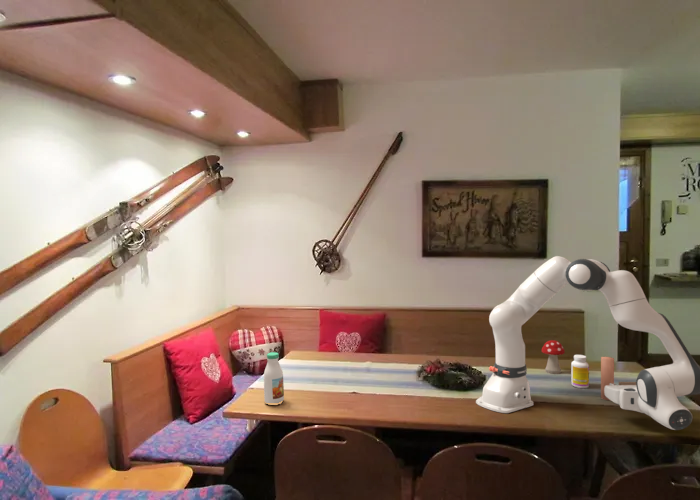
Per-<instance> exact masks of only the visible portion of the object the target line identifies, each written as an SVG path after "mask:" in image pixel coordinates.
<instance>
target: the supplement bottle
mask: <svg viewBox="0 0 700 500" xmlns="http://www.w3.org/2000/svg"><path fill="white" fill-rule="evenodd" d="M586 360H587V356H586V355H583V354H574V355H573V361H571V365H570V368H571V370H570V371H571V372H570V377H571V379H570V380H571V382H570V383H571V385H572V386H573V388H574V387H575V388H578V389H587V388H589V387H590V369H589V368H590V365H589V363H588V362H587V361H586Z"/></svg>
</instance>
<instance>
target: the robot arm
mask: <svg viewBox="0 0 700 500" xmlns="http://www.w3.org/2000/svg"><path fill="white" fill-rule="evenodd" d="M567 285H569V286H571V287H573V288H575V290H576V289H577V290H579V291H588V292H589V291H590V292H591V291H599V292H601V293H602V294H603V296H604V298H605V299H606V302H607V305H608V307H609V310H610V313H611V315H612V318H613V319H614V321H615V322H616V323H617V324H618V325H620V326H621V327H623V328H625V329H629V330H632V331H638V332H643V333H648V334H652V335H654V336H656V337H657V338H658V339H659V340H660V341H661V343H662V345H663V347H664V349H666V351H667V353H668V355H669V356H670V358H671V359H672V363H670V364H665V365H661V366H654V367H650V368H645V369H641V370H640V371H639V373H638V374H637V378H636V381H635V382H636V385H619V384H618V385H617V384H616V383H615V382H614V383H610V385H606V386H605V388H604V393H605V396H606V397H607V398H608V399H610V400H611V401H610V402H613V403H614V404H617V405H619V407H620V408H621V409H622V410H626V411H634V412H638V413H641V414H645V415H647V416H649V417H650V418H652V420H654V421H655V422H657V423H659V424H660V425H662V426H664V427H666V428H668V429H670V430H674V431H680V430H684V429H686V428H688V427H689V426H690V425H691V424H692V423H693V414H692V413H691V411H690V410H689V409H688V408H687V407H686V406H685V405H683V404H682V402H680V400H679V399H678V397H683V396H693V395H700V365H699V364H698V363H697V362H696V360H695V359H694V358H693V356H692V355H691V353H690V351H689V350H688V349H687V347H686V345H685V343H684V342H683V340H682V339H681V337H680V336H679V334H678V333H677V331H676V329H675V327H674V326H673V324H672V323H671V322H670V320H669V319H668V318H667V317H666V316H665V315H664V314H662V313H660V312H657V311H656V310H655V309H654V308H653V307H652V306H651V304H650V303H649V301H648V298H647V297H646V295H645V293H644V290H643V288H642V287H641V284H640V283H639V281H638V279H637V278H636V277H635V275H634V274H633V273H632V272H631V271H628V270H626V269H625V270H624V269H621V270H620V269H619V270H614V271H611V269H610V268H609V267H608V265H607V264H605V263H604V262H602V261H599V260H596V259H591V258H579V259H575V260H573V261H572V262H571V261H570V260H569V259H567V258H566V257H564V256H559V255H555V256H553V257H552V258H549V259H548V260H546V261H545V262H544V263H543V264H541V265H540V266H539V267H537V269H535V270H534V271H533V272H532V273H531V274H530V275H529V276H528V277H527V278H526V279H525V280H524V281H523V282H522V283H521V284H520V285H519V286H518V287H517V288H516V290H515V291H514V292H513V293H512V294H511V295H510V296H509V297H508V298H507V299H506V300H504V301H503V302H502V303H500V304H498V305H496V306H494V308H493V309H492V310H491V311H490V314H489V316H488V317H489V318H488V321H489V325H490V327H491V328H492V334H493V338H494V344H495V345H494V346H495V348H494V350H495V362H494V363H493V364H494V365H493V366H492V365H490V366H489V372H492V374H491V376H490V377H489V379H488V380H487V382H486V383H485V384H484V386H483V388H482V395H481V396H480V397H478V398H477V399H476V400H475V404H477V405H478V406H479V407H482V408H484V409H487V410H490V411H492V412H497V413H502V414H509V413H513V412H516V411H519V410H520V411H521V410H523V409H526V408H529V407H532V406H534V401H533V400H532V399H531V388H530V382H529V380H528V378H527V376H526V375H527V372H528V368H527V364H526V344H525V342H524V339H523V334H522V333H523V332H522V326H524V324H526V322H527V321H529V320H530V319H531V318H532V317H533V316H534V315H535V314H536V313H537V312H538V311H539V310H540V309H541V308H543V306H545V304H546V303H547V302H549V301H550V300H551V299H552V298H554V296H556V295H557V294H558V293H559V292H560V291H561V290H562V289H563V288H564V287H566V286H567Z"/></svg>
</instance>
